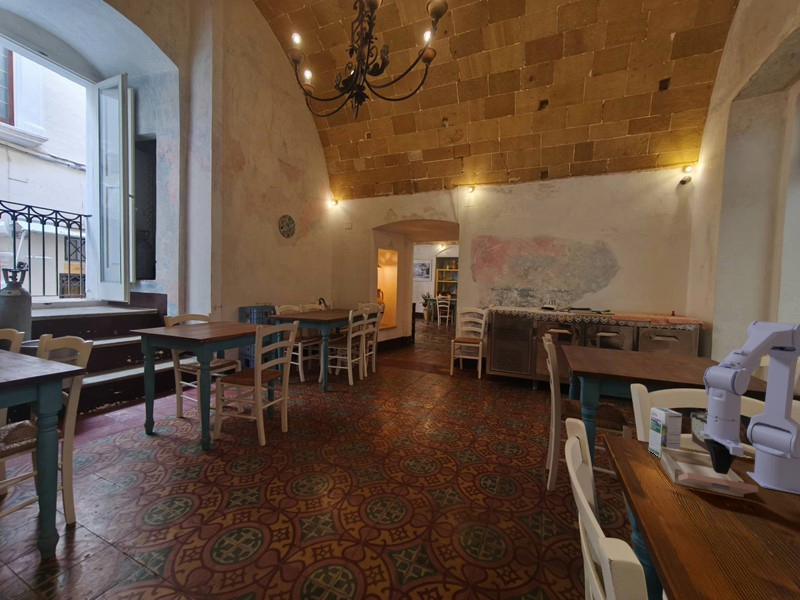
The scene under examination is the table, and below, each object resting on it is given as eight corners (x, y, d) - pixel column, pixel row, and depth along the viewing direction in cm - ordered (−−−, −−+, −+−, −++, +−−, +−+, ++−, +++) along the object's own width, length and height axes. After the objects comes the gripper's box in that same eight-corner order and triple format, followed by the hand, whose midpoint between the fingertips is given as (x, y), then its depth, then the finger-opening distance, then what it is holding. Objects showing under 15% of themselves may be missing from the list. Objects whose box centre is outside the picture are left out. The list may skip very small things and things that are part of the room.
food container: (736, 458, 106) (738, 427, 105) (713, 456, 107) (715, 425, 107) (709, 441, 118) (710, 413, 117) (689, 439, 119) (690, 411, 119)
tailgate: (742, 488, 84) (757, 485, 79) (744, 497, 83) (759, 495, 78) (678, 475, 90) (687, 472, 84) (679, 484, 89) (688, 481, 83)
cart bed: (720, 474, 96) (721, 456, 96) (743, 497, 85) (744, 477, 85) (660, 463, 101) (661, 446, 101) (674, 483, 90) (675, 465, 90)
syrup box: (647, 451, 109) (649, 407, 108) (664, 451, 109) (666, 407, 109) (662, 460, 103) (664, 413, 103) (680, 460, 104) (682, 413, 103)
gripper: (690, 405, 90) (688, 455, 90) (715, 424, 77) (712, 483, 77) (725, 409, 87) (722, 461, 87) (757, 430, 74) (754, 491, 74)
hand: (720, 472), depth 82 cm, fingers closed
